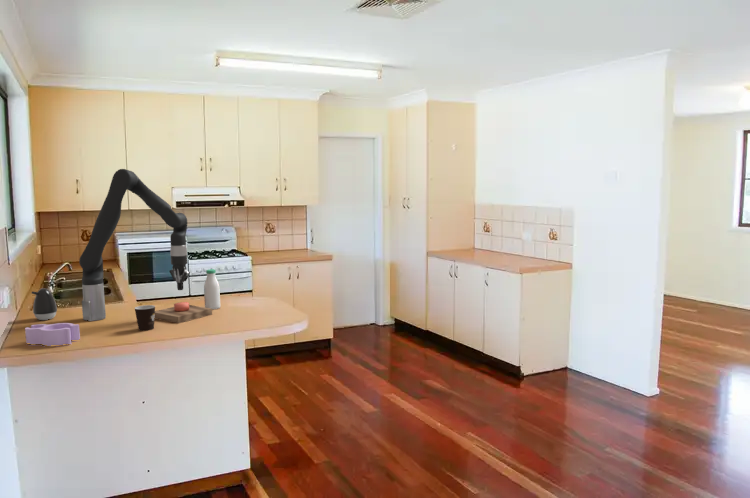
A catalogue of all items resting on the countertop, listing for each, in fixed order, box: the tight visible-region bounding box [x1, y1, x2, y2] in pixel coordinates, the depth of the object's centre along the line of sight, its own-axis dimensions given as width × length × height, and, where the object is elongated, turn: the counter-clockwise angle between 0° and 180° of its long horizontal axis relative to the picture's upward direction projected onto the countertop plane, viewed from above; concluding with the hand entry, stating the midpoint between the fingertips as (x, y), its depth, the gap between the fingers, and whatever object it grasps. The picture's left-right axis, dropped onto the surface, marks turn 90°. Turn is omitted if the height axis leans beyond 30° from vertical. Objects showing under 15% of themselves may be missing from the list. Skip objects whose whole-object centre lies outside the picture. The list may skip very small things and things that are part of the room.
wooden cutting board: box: [154, 304, 213, 324], centre depth 297 cm, size 20×20×3 cm
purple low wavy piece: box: [24, 322, 81, 346], centre depth 254 cm, size 20×12×7 cm, turn 86°
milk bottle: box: [203, 268, 221, 310], centre depth 313 cm, size 8×8×20 cm
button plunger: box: [173, 301, 190, 311], centre depth 297 cm, size 7×7×3 cm
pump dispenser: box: [31, 287, 58, 321], centre depth 295 cm, size 10×10×15 cm
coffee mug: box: [134, 304, 156, 332], centre depth 274 cm, size 12×9×10 cm
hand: (180, 289), depth 295 cm, fingers closed
